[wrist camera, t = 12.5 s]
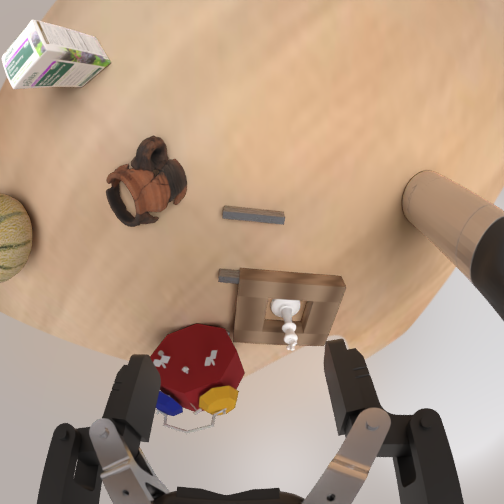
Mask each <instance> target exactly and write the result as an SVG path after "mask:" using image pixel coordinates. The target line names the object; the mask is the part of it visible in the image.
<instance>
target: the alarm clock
mask: <svg viewBox="0 0 504 504" xmlns="http://www.w3.org/2000/svg"><path fill="white" fill-rule="evenodd" d="M229 334H230V333H229V332H228V331H227V332H226V330H225V329H224V328H218V327H213V326H208V325H202V324H194V325H191V326H189V327H186V328H184V329H181V330H178V331H176V332H173V333H170V334H168V335H167V336H166V337H165V338H164V340H163V341H162V342H161V343H160V345H159V346H158V347H157V349H156V350H155V351H154V352H153V354H152V355H151V356H150V358H151V360H152V362H153V363H154V365H155V367H156V369H157V370H158V372H159V374H160V378H161V386H160V390H161V391H159V395H158V399H157V404H156V408H157V414H159V412H160V413H161V414H163V415H164V416H165V417H164V426H166V427H168V428H171V429H175V430H178V431H182V432H185V433H190V432H194V431H198V430H202V429H206V428H210V427H213V426H214V422H215V416H216V415H222V414H227V413H228V412H230V411H231V410H233V409H234V408H235V405H236V401H237V397H238V392H239V391H237V390H236V389H237V387H238V385H239V383H240V381H241V379H242V377H243V375H244V374H245V372H244V369H243V367H242V364H241V361H240V358H239V356H238V353H237V350H236V348H235V347H234V345H233V343H232V341H231V339H230V337H229ZM182 407H183V408H186V409H189V410H191V411H194V414H195V415H196V414H198V413H199V412H201V411H206V412H208V413H210V414H212V415H213V417H212V423H211V425H208V426H205V427H200V428H196V429H192V430H188V431H187V430H184V429H180V428H177V427H173V426H170V425H167V424H166V421H167V415H171V416H175V415H177V414H179V413H182V412H183V410H182Z"/></svg>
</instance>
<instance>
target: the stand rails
mask: <svg viewBox="0 0 504 504" xmlns="http://www.w3.org/2000/svg"><path fill="white" fill-rule="evenodd" d="M223 218H224V219H235V220H245V221H255V222H265V223H275V224H284V221H285V216H284V212H280V211H271V210H261V209H252V208H241V207H231V206H224V210H223ZM239 278H240V271H238V270H227V269H220V272H219V281H218V282H225V283H236V284H239Z"/></svg>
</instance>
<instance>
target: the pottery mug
mask: <svg viewBox="0 0 504 504" xmlns="http://www.w3.org/2000/svg"><path fill="white" fill-rule="evenodd" d="M131 166H132V167H133V168H132V169H129V165H128V164H126V165H123V166H120V167H118V168H117V169H116V170H115V171H114V172H112V173H110V174H109V175H108V177H107V183H108V184H110V183H111V184H112V187H111V188H110V189H107V190H106V195H107V199H108V202H109V204H110V206H111V209H112V210H113V212H114V213H115V215H116V216H117V218H118V219H119V220H120V221H121V222H122V223H124V224H125V225H127V226H130V227H135V226H137V225H140V224H148V223H155V222H156V221H157V220H158V219H159V218H158V217H153V216H151V215H150V214H149V213H148V211H149V212H161V211H163V210H164V209H165V208H166V207H167V204H168V202H171V201H172V200H173V199H174V198H175V200H174V204H175V205H177V204H178V203H179V202H180V201H181V199H182V198H184V196H185V194H186V190H187V180H186V175H185V172H184V170H183V167H182V166H181V165H180V163H179V162H178V161H177V160H176V159H173V160H168V156H167V148H166V145H165V143H164V141H163V140H162V139H161V138H159V137H155V136H152V137H149V138H147V139H145V140H144V141H142V143H141V144H140V145H139V147H138V149H137V153H136V157H135V158H134V159H133V160H132V161H131ZM154 169H156V170H159V173H158V174H157V175H156V176H155V175H154V173H153V172H152V171H153V170H154ZM120 181H122V182H123V183H124V184H125V185H126V186H127V188H128V189H129V191H130V193H131V194H132V197H133V199H134V202H135V206H136V217H133V216H132V215H131V213H129V212H128V211H127V210H126V206H125V205H124V203H123V201H122V199H121V197H120V192H119V182H120Z"/></svg>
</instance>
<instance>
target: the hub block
mask: <svg viewBox="0 0 504 504" xmlns="http://www.w3.org/2000/svg"><path fill="white" fill-rule="evenodd" d="M345 289H346V286H345V283H344V281H343V279H342V277H341V276H332V275H319V274H306V273H294V272H282V271H270V270H259V269H247V268H240V278H239V284H238V293H237V303H236V312H235V322H234V334H233V342H241V343H255V344H273V345H289V344H287V343H285V342H284V336H285V332H283V330H282V326H283V325H284V324H285V322H284V321H280V320H264V319H265V313H266V308H267V303H268V298H269V299H283V300H299V301H307V303H306V307H305V310H304V313H303V317H302V320H301V322H299V321H292V323H294V324H295V325H296V330H295V331H294V332H295V334H296V335H297V337H298V340H297V344H296V345H299V346H324V345H325V342H326V340H327V337H328V335H329V332H330V330H331V327H332V325H333V322H334V319H335V317H336V314H337V312H338V309H339V306H340V303H341V301H342V298H343V295H344V292H345Z"/></svg>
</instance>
